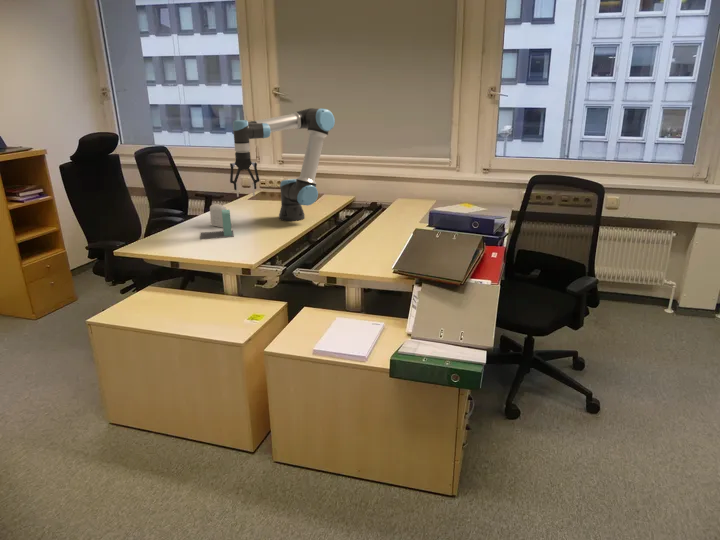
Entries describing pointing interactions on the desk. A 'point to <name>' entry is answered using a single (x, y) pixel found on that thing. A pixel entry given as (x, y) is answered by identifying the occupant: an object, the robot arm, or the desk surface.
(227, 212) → the block
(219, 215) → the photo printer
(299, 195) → the robot arm
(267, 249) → the desk surface
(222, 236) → the mat
